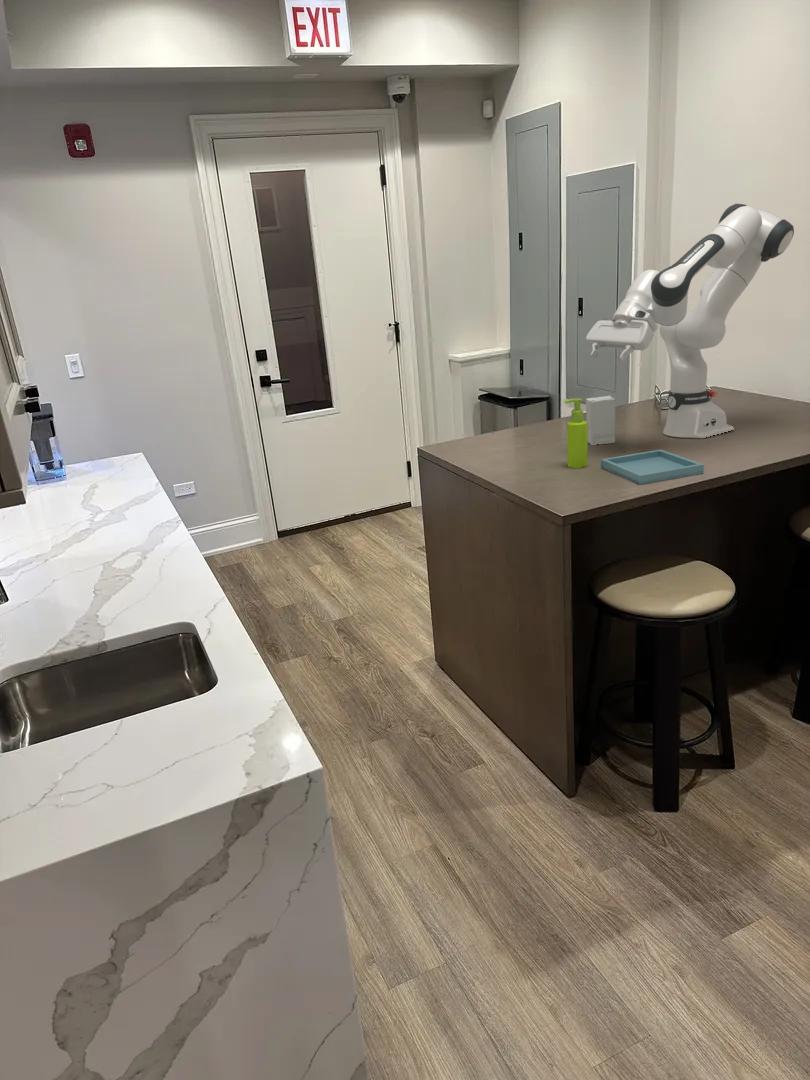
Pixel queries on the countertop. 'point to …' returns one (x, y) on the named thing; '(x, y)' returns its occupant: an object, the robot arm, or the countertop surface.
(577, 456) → the soap dispenser
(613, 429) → the skincare box
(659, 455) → the tray
